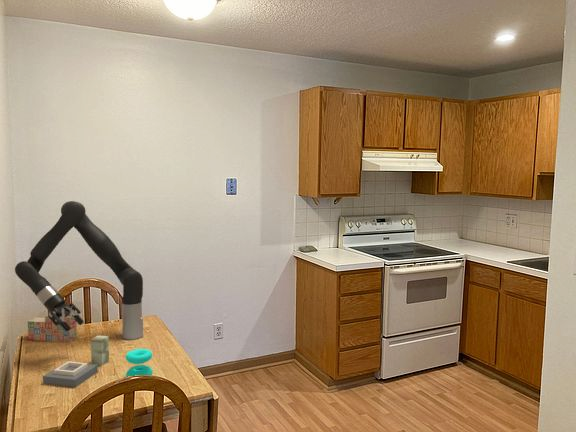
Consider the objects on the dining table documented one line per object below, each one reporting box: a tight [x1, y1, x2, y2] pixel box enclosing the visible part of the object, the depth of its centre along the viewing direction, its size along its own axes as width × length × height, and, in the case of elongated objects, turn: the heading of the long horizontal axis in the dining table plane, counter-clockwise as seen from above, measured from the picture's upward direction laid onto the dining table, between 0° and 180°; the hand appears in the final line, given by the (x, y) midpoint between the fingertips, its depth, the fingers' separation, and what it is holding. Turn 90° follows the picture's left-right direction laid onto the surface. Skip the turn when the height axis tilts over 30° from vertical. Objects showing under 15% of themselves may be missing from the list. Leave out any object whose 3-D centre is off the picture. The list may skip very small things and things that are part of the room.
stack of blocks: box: [27, 314, 78, 343], centre depth 229 cm, size 21×6×12 cm, turn 83°
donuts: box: [125, 348, 154, 378], centre depth 188 cm, size 10×10×10 cm
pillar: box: [90, 335, 110, 367], centre depth 201 cm, size 5×5×11 cm
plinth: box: [42, 361, 99, 388], centre depth 187 cm, size 14×14×4 cm
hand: (75, 326), depth 202 cm, fingers open, 8 cm apart
